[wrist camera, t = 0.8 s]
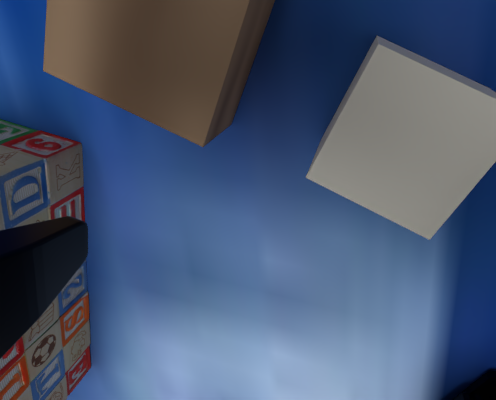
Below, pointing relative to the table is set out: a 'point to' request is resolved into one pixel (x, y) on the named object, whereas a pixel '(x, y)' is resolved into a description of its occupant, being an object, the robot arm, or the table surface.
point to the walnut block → (159, 56)
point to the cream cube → (408, 139)
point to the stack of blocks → (75, 292)
